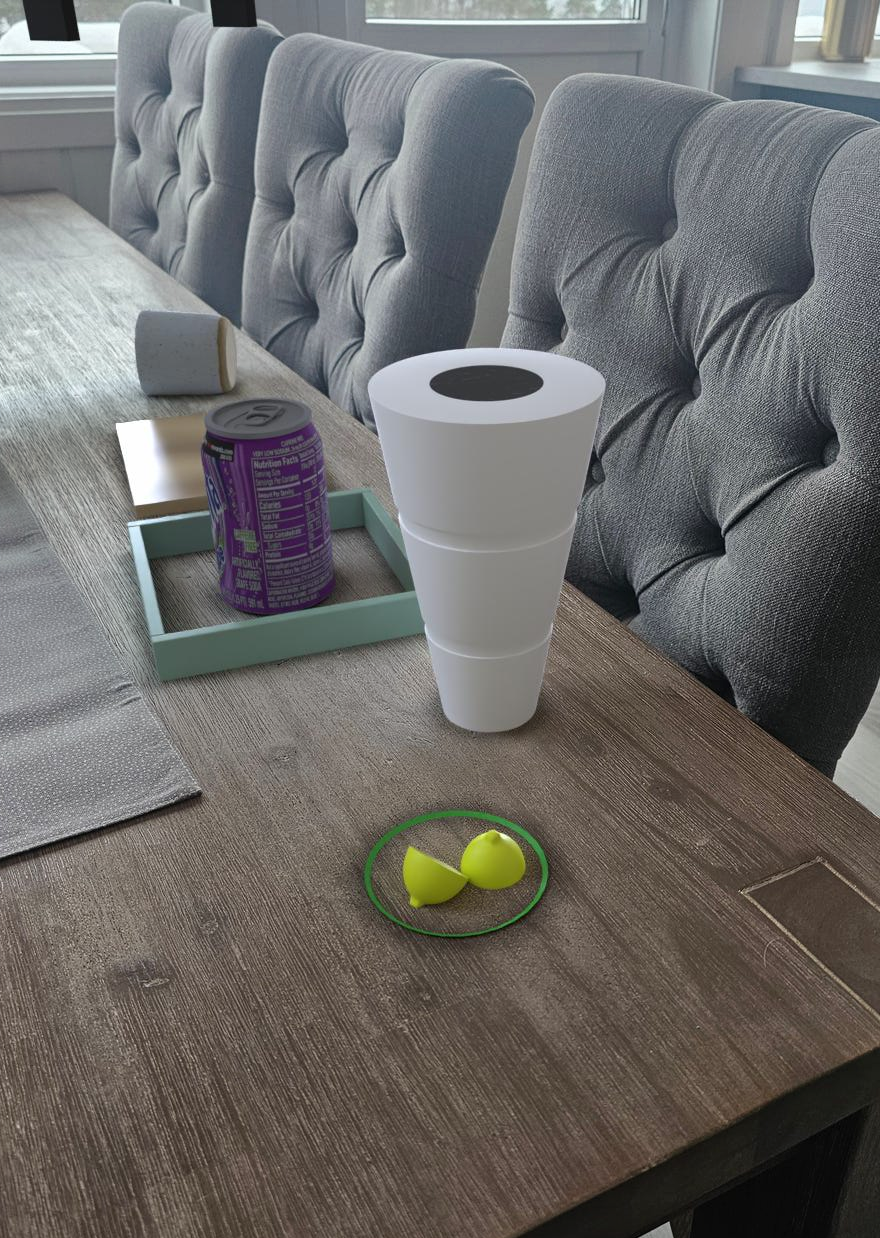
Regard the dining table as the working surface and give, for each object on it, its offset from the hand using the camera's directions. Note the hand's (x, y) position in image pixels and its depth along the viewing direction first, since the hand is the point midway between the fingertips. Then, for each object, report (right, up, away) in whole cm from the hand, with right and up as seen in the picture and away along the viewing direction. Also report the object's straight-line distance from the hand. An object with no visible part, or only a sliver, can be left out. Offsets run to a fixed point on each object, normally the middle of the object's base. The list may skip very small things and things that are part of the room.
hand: (152, 34), depth 61 cm
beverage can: (+5, -30, +11) cm, 32 cm away
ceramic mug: (-10, -8, +46) cm, 47 cm away
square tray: (+5, -30, +11) cm, 32 cm away
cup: (+18, -37, 0) cm, 41 cm away
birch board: (-3, -18, +29) cm, 35 cm away
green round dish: (+17, -44, -11) cm, 48 cm away
